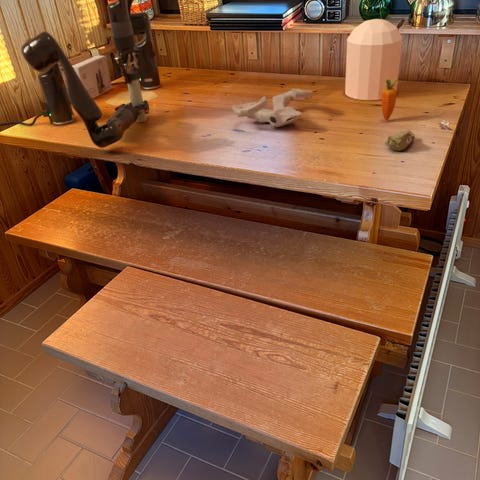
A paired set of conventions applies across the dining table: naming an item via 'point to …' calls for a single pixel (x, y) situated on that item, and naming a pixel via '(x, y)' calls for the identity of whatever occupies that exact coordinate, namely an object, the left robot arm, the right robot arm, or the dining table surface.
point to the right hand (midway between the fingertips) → (132, 80)
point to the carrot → (388, 99)
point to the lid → (133, 75)
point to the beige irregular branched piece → (280, 112)
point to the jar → (136, 97)
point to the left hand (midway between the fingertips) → (140, 102)
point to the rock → (400, 140)
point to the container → (372, 59)
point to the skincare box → (94, 75)
